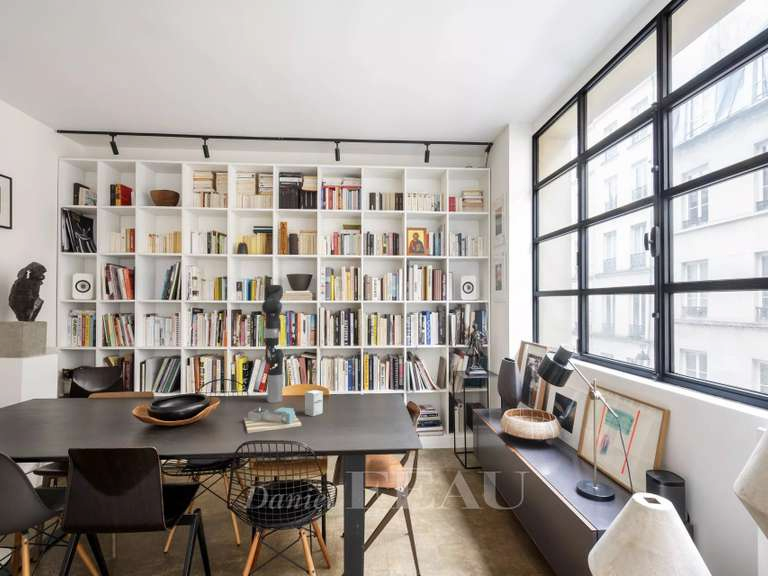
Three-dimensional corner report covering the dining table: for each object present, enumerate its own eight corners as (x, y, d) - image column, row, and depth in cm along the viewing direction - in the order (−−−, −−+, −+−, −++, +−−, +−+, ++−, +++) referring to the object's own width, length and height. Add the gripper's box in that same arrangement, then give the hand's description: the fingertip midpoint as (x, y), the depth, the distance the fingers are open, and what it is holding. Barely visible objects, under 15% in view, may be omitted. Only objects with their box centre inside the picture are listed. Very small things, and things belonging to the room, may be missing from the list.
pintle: (256, 420, 203) (257, 406, 203) (260, 420, 203) (260, 406, 204) (257, 421, 201) (257, 407, 201) (260, 421, 202) (260, 407, 202)
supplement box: (313, 416, 210) (313, 393, 211) (304, 414, 215) (304, 391, 215) (323, 413, 216) (323, 391, 217) (314, 411, 221) (314, 389, 221)
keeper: (273, 425, 195) (273, 410, 195) (281, 421, 202) (281, 407, 202) (288, 427, 192) (288, 412, 193) (295, 423, 199) (296, 408, 199)
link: (248, 420, 200) (248, 412, 200) (257, 416, 207) (257, 408, 207) (279, 423, 194) (279, 415, 194) (287, 419, 201) (288, 411, 201)
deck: (244, 420, 203) (244, 418, 203) (293, 414, 214) (293, 412, 214) (247, 433, 183) (247, 430, 183) (301, 425, 194) (301, 423, 194)
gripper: (263, 336, 217) (263, 364, 216) (266, 337, 204) (266, 368, 203) (276, 335, 220) (276, 363, 219) (280, 337, 207) (280, 367, 206)
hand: (271, 365), depth 211 cm, fingers open, 8 cm apart
